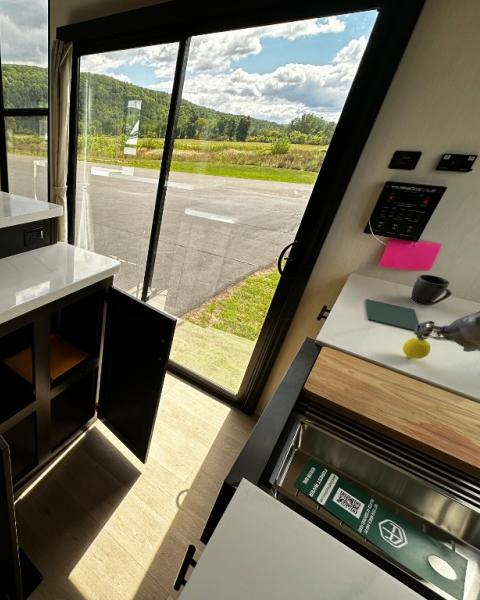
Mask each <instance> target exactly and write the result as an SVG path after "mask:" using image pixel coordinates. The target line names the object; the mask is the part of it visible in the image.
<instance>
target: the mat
mask: <svg viewBox="0 0 480 600" xmlns="http://www.w3.org/2000/svg"><path fill="white" fill-rule="evenodd" d="M365 306H366V307H365V308H366V315H367V320H368V321H371V322H373V323H374V322H375V323H379V324H383V325H387V326H391V327H395V328H400V329H404V330H407V331H412V332H415V328H416V325H418V324H420V322H419V319H418V317H417V313H416V310H415V309H414V308H410V307H405V306H400V305H396V304H391V303H388V302H382V301H377V300H372V299H369V298H366V299H365Z"/></svg>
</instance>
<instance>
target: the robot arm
mask: <svg viewBox="0 0 480 600" xmlns="http://www.w3.org/2000/svg"><path fill="white" fill-rule="evenodd" d="M413 335H416V338H418V340H427V339H434V340H435V341H439V342H440V341H442V342H451V343H455V344H457V345H458V346H460V347H463V349H462V351H463V352H466V353H470V352H477V351H478V352H480V310H479V311H476V312H473V313H470V314H468V315H466V316H462V317H460V318H457V319H456V320H453V321H452V322H451V323H450V324H448V325H436V324H435V321H432V320H427V321H424V322H421V323H419V324H418V325H416V328H415V331H413Z"/></svg>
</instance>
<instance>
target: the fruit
mask: <svg viewBox="0 0 480 600" xmlns="http://www.w3.org/2000/svg"><path fill="white" fill-rule="evenodd" d="M402 352H403V354H404V355H405V357H406V358H407V359H410V360H411V359H414V360H420V359H424V358H426V357H427V356H428V355H429V354H430V353H431V344H430V343H429V342H428V341H427V339H425V340H418V338H417V337H412V338H409V339H408V340H406V341H405V342H404V343H403V346H402Z"/></svg>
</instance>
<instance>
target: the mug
mask: <svg viewBox="0 0 480 600" xmlns="http://www.w3.org/2000/svg"><path fill="white" fill-rule="evenodd" d="M450 284H451V283H450V281H448V279H445V278H443V277H440V276H437V275H431V274H419V276H418V277H417V278H416V280H415V282H414V284H413V286H412V291H411V295H410V296H411V297H410V300H411V299H412V300H413V301H412V300H411V301H412V302H414V301H415V302H414V303H416V302H417V304H419V303H420V304H419V305H423V304H424V305H423V306H425V305H426V306H434V305H437V304H438V303H440V302H442V301H444V300H446V299H448V298H450V297H451V295H452V293H453V292H452V290H451V289H449V288H448V287H449V285H450ZM443 294H444V295H443ZM442 295H443V296H442Z"/></svg>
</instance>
